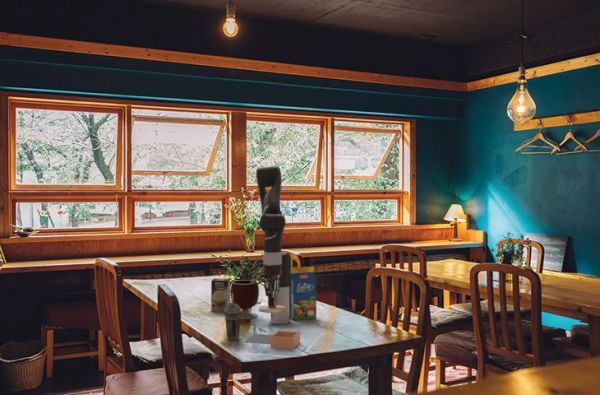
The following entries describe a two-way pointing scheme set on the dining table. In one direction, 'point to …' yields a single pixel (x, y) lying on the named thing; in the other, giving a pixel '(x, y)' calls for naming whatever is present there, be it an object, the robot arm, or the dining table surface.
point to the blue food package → (302, 293)
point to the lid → (272, 307)
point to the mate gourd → (245, 296)
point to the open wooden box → (285, 339)
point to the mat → (259, 339)
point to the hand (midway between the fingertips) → (272, 305)
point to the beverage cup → (232, 320)
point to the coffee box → (220, 294)
